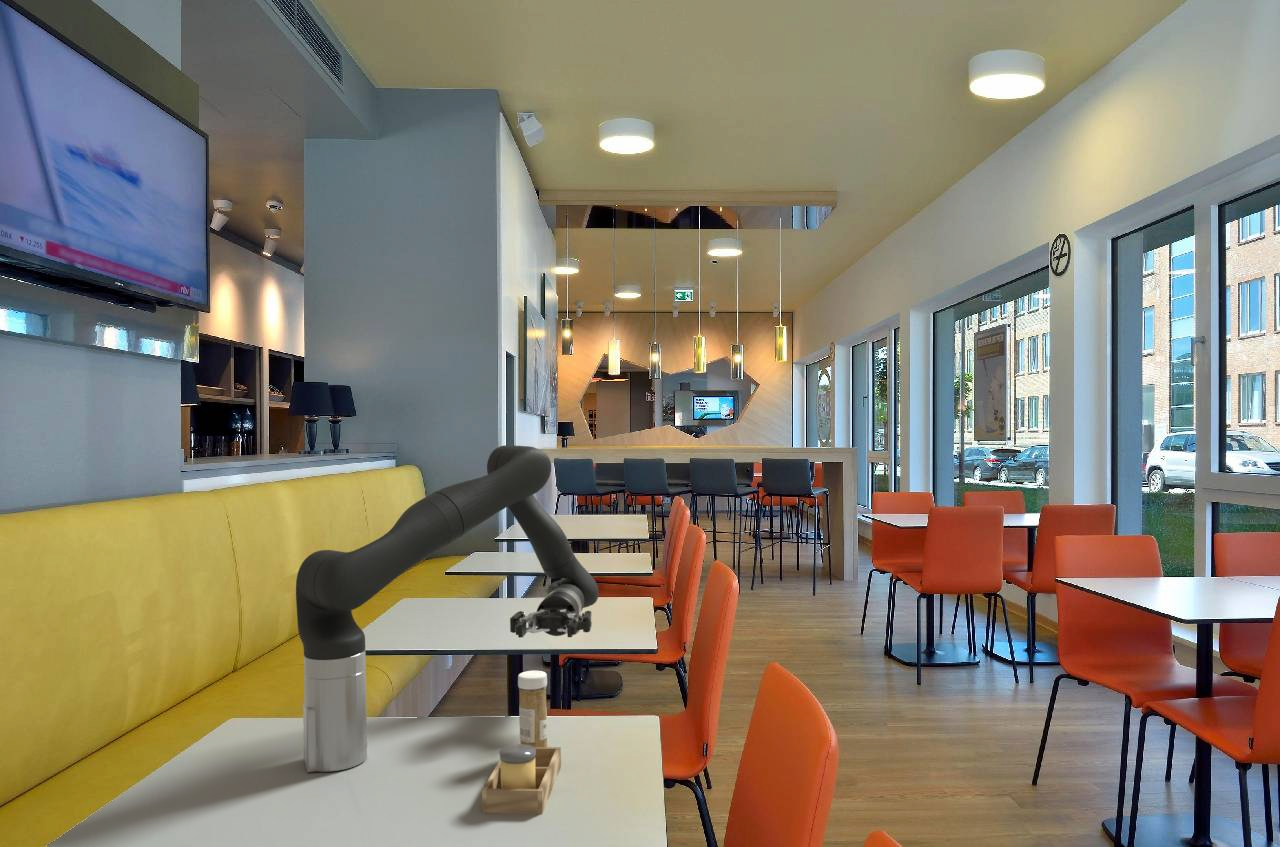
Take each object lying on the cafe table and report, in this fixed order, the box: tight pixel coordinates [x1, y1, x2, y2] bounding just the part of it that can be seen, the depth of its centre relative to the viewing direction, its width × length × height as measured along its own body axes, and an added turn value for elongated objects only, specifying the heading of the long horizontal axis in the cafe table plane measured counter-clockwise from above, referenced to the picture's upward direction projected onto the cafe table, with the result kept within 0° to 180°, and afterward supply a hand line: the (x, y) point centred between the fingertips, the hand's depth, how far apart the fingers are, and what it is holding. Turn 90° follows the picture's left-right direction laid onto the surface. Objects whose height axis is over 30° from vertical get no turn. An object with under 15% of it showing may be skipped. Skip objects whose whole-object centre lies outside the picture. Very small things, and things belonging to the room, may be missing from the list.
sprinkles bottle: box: [517, 670, 548, 747], centre depth 137 cm, size 5×5×14 cm
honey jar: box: [499, 743, 536, 789], centre depth 120 cm, size 5×5×7 cm
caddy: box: [481, 746, 562, 815], centre depth 124 cm, size 16×8×4 cm, turn 176°
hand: (544, 631), depth 148 cm, fingers open, 8 cm apart
